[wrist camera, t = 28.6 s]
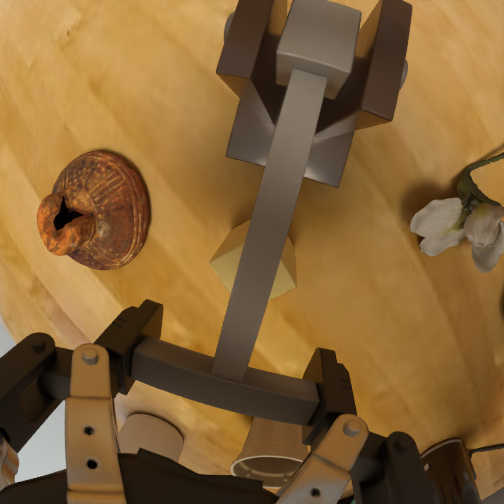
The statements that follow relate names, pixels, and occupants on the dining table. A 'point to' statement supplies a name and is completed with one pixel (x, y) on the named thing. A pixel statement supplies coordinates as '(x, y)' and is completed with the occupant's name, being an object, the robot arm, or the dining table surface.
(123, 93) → the dining table surface
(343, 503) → the lantern
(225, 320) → the blade lever
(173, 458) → the soap bottle
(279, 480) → the flower pot
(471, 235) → the artificial flower
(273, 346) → the dining table surface
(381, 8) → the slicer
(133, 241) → the bell
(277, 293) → the butter
